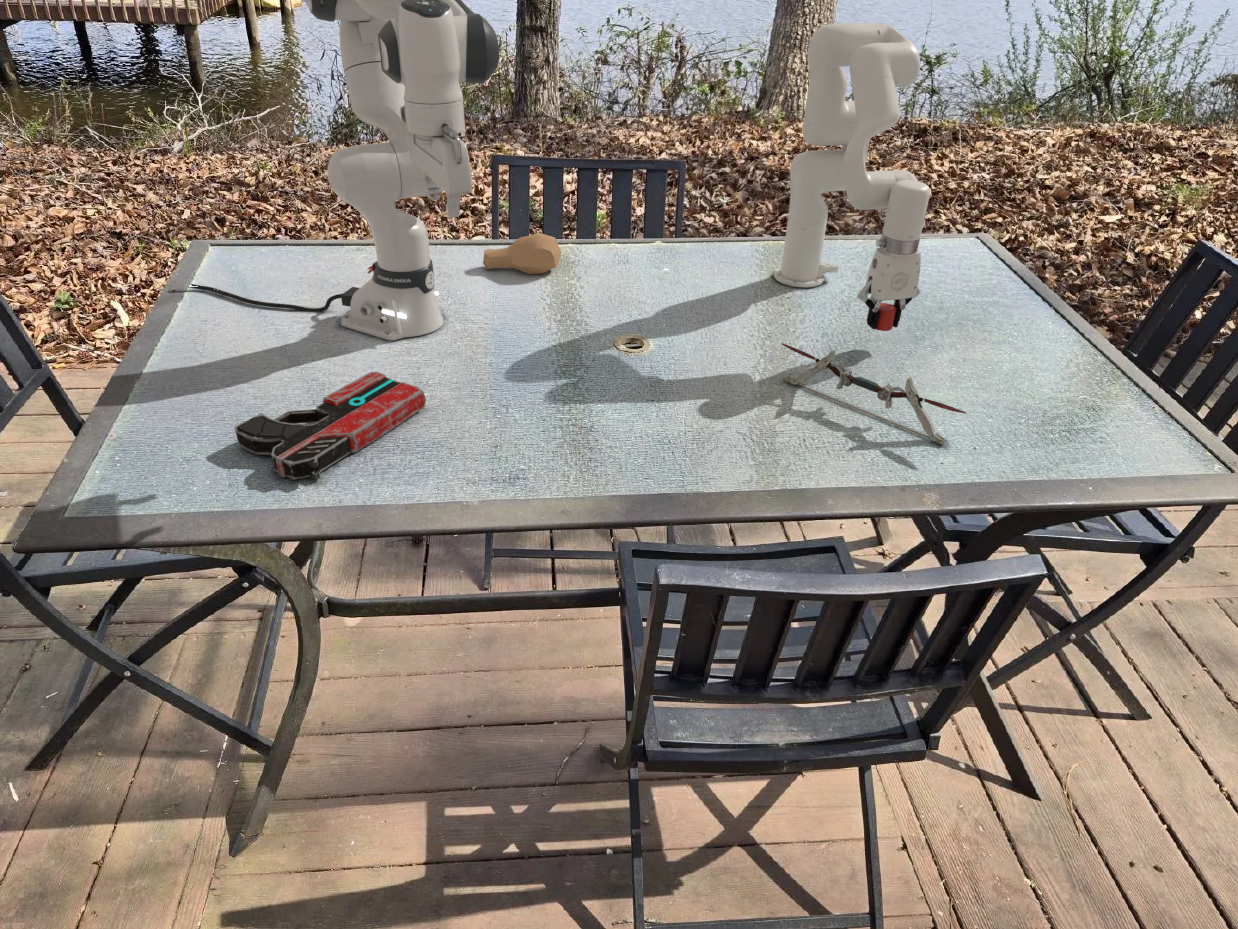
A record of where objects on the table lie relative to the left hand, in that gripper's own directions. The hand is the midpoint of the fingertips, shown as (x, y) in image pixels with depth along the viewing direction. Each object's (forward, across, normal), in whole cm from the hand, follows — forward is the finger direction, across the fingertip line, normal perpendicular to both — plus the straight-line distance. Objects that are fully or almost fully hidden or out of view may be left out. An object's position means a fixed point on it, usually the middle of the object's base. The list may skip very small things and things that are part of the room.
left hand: (443, 207), depth 143 cm
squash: (+39, +61, -38) cm, 82 cm away
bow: (+39, -33, -69) cm, 85 cm away
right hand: (+34, -12, -91) cm, 98 cm away
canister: (+34, -12, -91) cm, 98 cm away
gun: (+39, +4, +22) cm, 45 cm away
